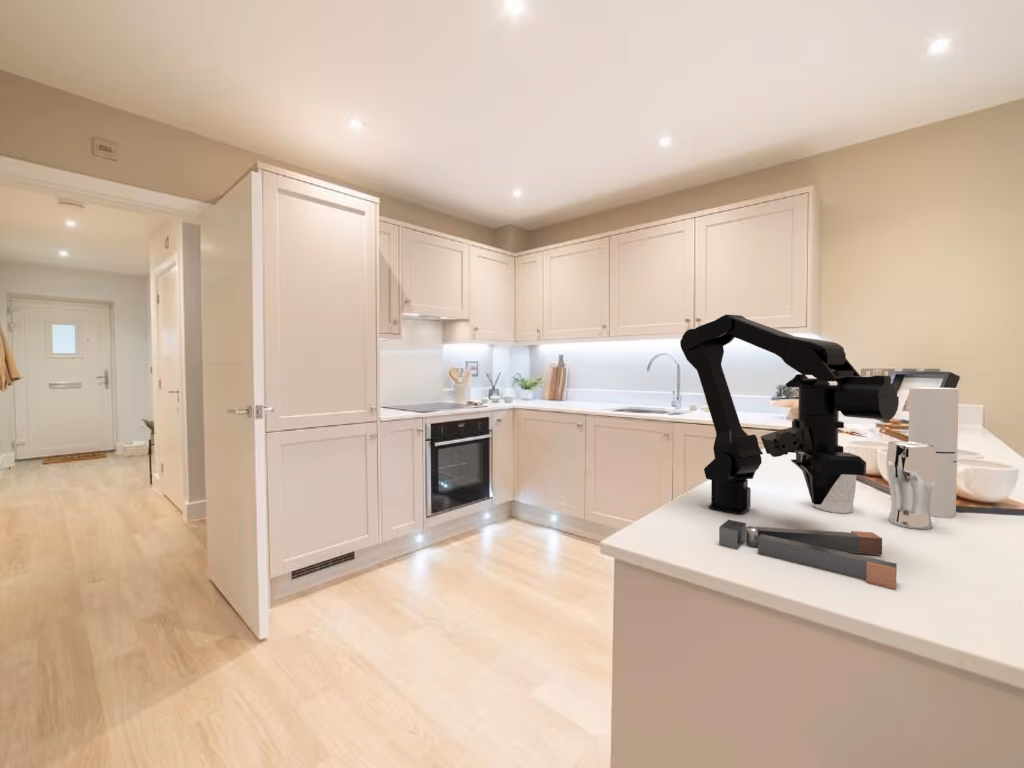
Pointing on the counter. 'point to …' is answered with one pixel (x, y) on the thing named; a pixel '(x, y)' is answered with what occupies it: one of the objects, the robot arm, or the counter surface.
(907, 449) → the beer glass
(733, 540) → the base
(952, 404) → the beige tall box
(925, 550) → the counter surface
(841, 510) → the white cup
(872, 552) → the bar
